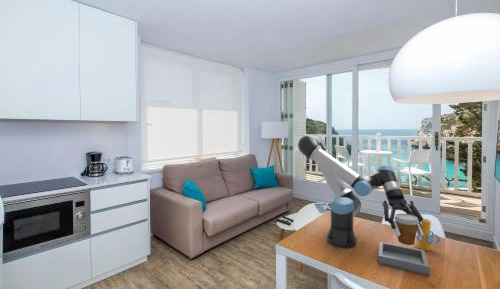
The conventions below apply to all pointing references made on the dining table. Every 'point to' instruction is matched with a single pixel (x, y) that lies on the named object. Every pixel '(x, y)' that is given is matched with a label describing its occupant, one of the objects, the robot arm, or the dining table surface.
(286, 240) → the dining table surface
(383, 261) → the grey tray
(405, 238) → the disposable coffee cup
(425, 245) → the yellow post with rings
